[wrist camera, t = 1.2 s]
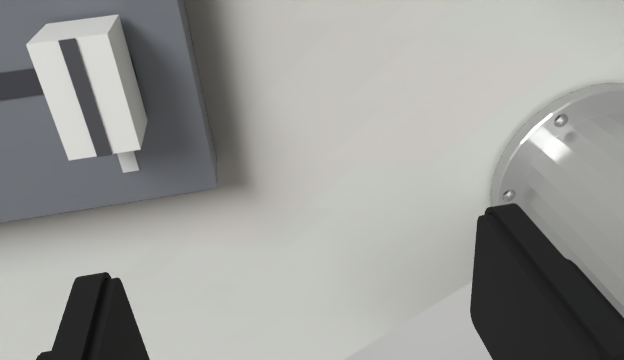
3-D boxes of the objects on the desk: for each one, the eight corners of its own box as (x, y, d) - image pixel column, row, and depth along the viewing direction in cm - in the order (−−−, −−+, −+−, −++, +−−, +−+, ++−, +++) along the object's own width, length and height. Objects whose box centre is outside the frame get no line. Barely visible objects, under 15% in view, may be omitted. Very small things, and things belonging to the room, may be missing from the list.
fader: (118, 14, 23) (106, 34, 21) (147, 120, 26) (140, 150, 23) (46, 24, 23) (25, 45, 20) (82, 130, 26) (68, 161, 23)
